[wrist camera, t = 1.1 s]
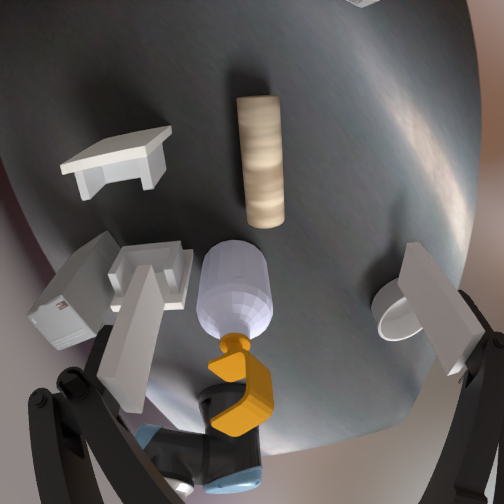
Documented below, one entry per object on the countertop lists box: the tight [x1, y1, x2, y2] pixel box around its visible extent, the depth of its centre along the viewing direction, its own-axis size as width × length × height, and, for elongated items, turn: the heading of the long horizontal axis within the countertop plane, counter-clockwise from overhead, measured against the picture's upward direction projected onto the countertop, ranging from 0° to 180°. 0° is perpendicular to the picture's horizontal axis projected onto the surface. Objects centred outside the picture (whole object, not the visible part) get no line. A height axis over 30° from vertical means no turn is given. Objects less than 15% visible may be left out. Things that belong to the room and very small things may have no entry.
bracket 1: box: [60, 125, 172, 201], centre depth 29 cm, size 4×9×11 cm, turn 94°
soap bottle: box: [196, 240, 274, 437], centre depth 33 cm, size 9×9×25 cm
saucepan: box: [371, 278, 423, 341], centre depth 44 cm, size 12×20×6 cm, turn 12°
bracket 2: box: [108, 241, 194, 312], centre depth 36 cm, size 4×9×11 cm, turn 94°
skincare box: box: [27, 231, 121, 350], centre depth 35 cm, size 8×7×16 cm
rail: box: [236, 95, 284, 228], centre depth 33 cm, size 15×5×5 cm, turn 4°
